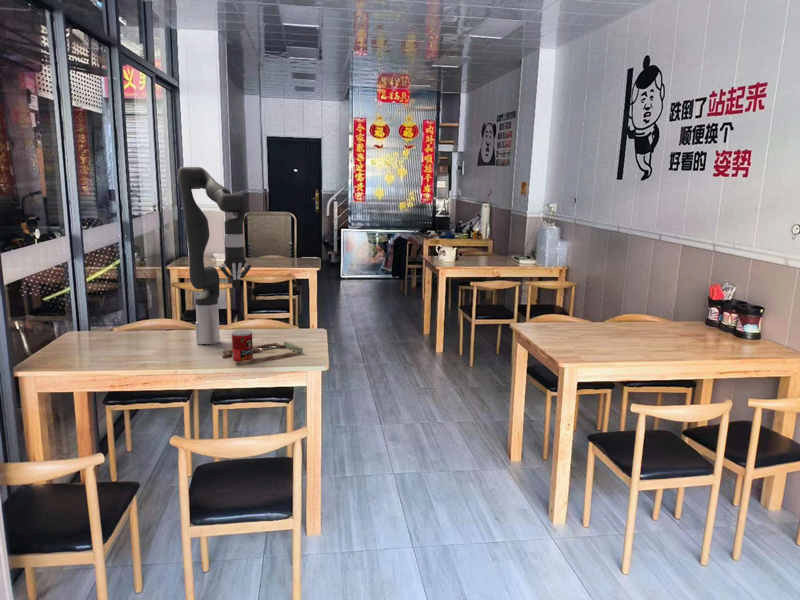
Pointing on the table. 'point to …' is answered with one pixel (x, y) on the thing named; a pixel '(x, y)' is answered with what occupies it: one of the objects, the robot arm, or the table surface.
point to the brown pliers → (265, 347)
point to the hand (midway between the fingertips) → (236, 288)
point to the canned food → (242, 345)
